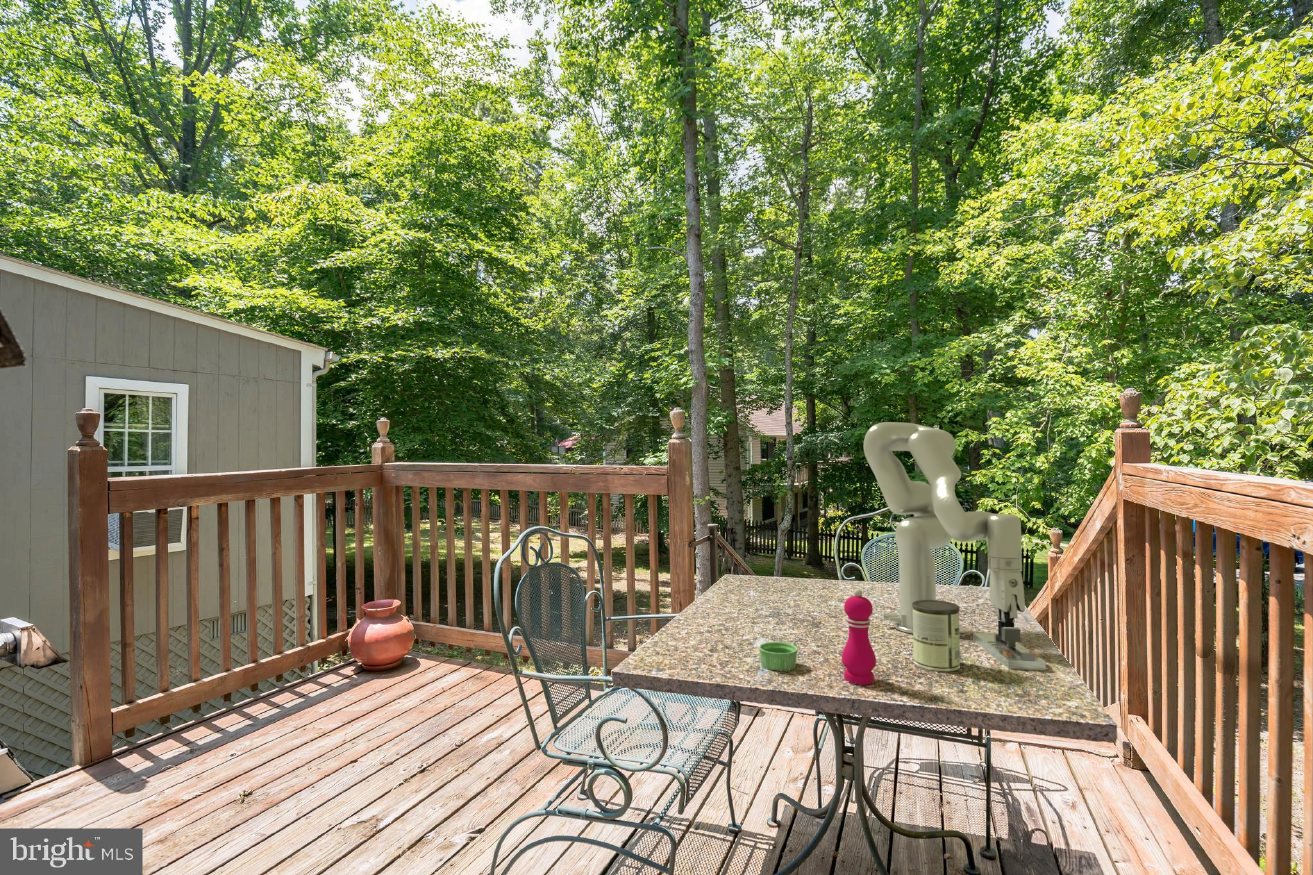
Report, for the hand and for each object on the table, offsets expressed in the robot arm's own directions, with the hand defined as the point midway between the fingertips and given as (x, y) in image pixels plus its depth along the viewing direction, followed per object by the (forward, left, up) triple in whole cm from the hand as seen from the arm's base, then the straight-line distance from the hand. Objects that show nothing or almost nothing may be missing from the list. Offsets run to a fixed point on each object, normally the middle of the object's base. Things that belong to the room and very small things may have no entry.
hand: (1006, 637), depth 162 cm
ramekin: (-57, -17, -4) cm, 60 cm away
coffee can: (-20, -12, -4) cm, 24 cm away
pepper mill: (-40, -25, -4) cm, 47 cm away
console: (-1, -2, -4) cm, 4 cm away
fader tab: (0, -3, -1) cm, 4 cm away
